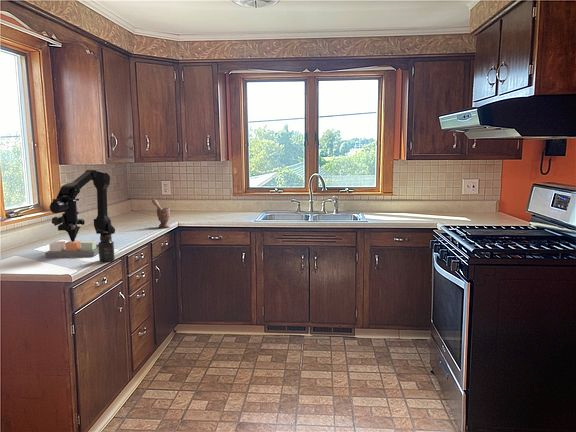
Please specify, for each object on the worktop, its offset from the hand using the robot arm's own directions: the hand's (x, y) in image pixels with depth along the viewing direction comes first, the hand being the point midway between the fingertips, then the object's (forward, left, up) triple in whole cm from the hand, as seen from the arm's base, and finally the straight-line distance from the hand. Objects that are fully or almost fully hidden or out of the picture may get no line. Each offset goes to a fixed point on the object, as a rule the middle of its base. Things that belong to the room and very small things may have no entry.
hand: (72, 241), depth 222 cm
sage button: (0, +8, -4) cm, 9 cm away
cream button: (0, -8, -4) cm, 9 cm away
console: (0, 0, -7) cm, 7 cm away
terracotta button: (0, 0, -4) cm, 4 cm away
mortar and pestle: (-75, +29, -7) cm, 81 cm away
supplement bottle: (+14, +20, -7) cm, 26 cm away
